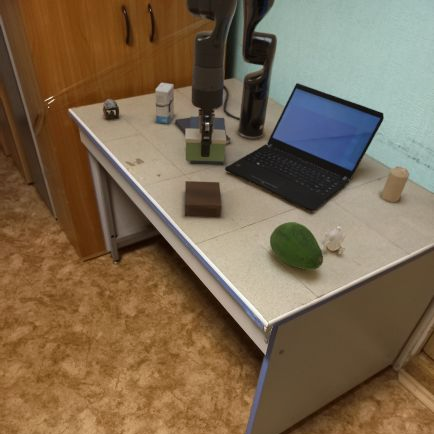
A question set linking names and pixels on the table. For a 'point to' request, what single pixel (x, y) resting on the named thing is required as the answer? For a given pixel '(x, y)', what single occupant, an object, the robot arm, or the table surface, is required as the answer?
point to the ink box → (164, 102)
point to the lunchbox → (195, 145)
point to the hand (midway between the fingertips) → (204, 150)
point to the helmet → (110, 108)
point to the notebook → (186, 123)
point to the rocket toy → (334, 239)
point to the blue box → (217, 125)
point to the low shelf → (202, 199)
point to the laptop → (311, 148)
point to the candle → (395, 184)
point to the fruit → (296, 246)
